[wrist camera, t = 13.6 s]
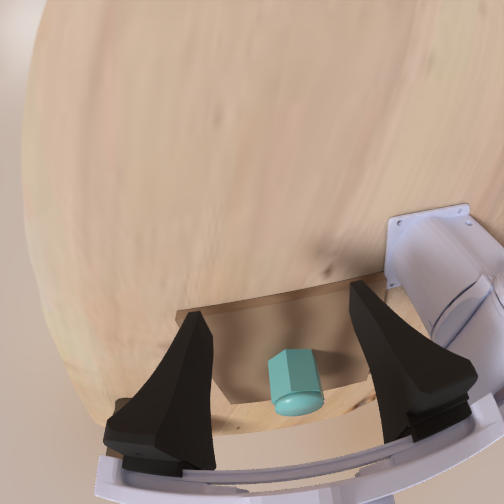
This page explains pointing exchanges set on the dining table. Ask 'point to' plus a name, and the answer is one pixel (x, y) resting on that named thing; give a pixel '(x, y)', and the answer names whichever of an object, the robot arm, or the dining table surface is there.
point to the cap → (295, 382)
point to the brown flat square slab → (285, 337)
